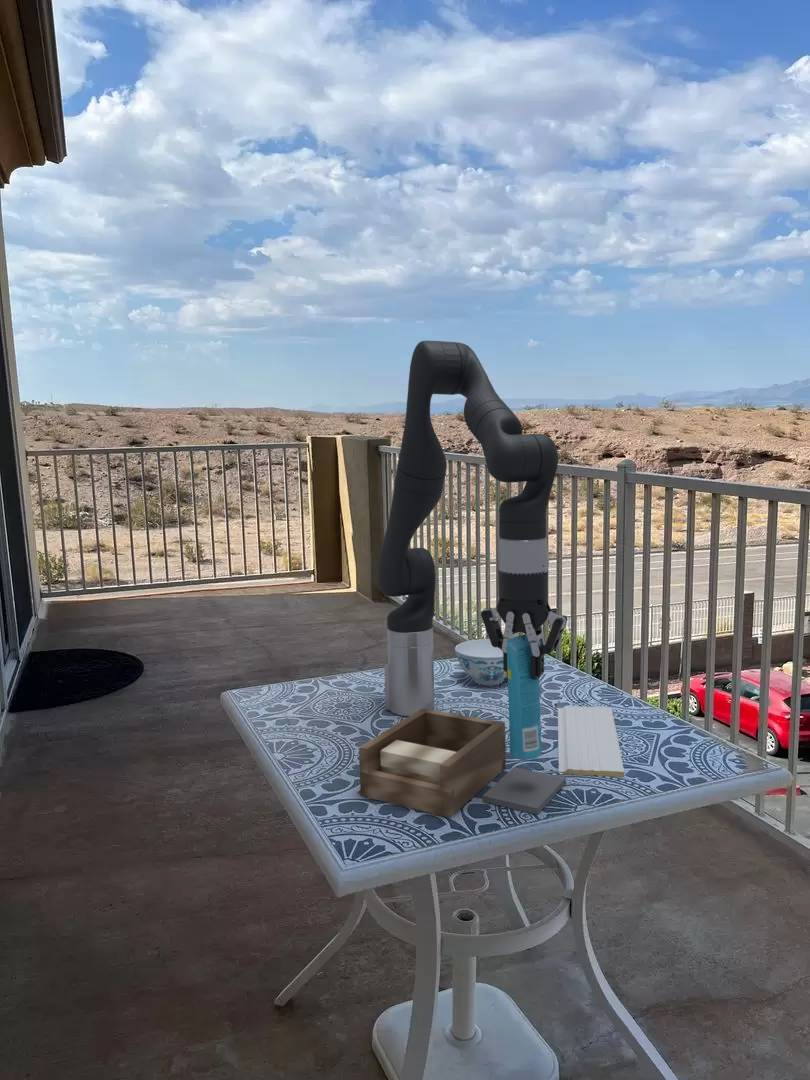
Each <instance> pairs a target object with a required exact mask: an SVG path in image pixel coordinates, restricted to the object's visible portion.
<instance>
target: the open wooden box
mask: <svg viewBox="0 0 810 1080" xmlns="http://www.w3.org/2000/svg"><path fill="white" fill-rule="evenodd" d="M396 740H399V741H404V742H409V743H414V744H419V745H425V746H430V747H435V748H440V749H445V750H450V751H455V752H456V753H455V754H453V755H452V756H451V757H449V758H448V759H447V760H446V761H444V762H443V763H442V764H440V785H436V784H432V783H428V782H423V781H419V780H415V779H410V778H406V777H402V776H397V775H393V774H388V773H384V772H382V768H381V756H380V751H381V750H382V749H384V748H385V747H387V746H388V745H390V744H391V743H393V742H394V741H396ZM358 761H359V766H358V767H359V784H360V785H359V789H360V790H359V791H360V796H361V797H365V798H369V799H373V800H376V801H381V802H384V803H389V804H393V805H396V806H401V807H403V808H407V809H408V808H409V809H412V810H415V811H416V810H417V811H420V812H424V813H428V814H431V815H436V816H440V817H444V818H449V819H450V818H452V817H453V816H454V815H455V814H456V813H458V811H460V810H461V809H462V808H464V806H465V805H466V804H468V802H469V800H470V799H471V800H472V799H473V798H474V797H475V796H477V794H479V793H480V792H481V791H482V790H483V789H485V788H486V786H488V785H489V784H490V783H491V782H492V781H493V780H494V779H496V778H497V777H498V776H499V775H500V774H502V773H503V771H505V768H506V767H507V766H506V765H507V763H506V722H501V721H497V720H491V719H490V720H489V719H484V718H481V717H474V716H473V717H472V716H467V715H463V714H456V713H451V712H445V711H439V710H436V709H434V710H429V709H423V708H422V709H420V710H419V711H417V712H416V713H414V714H412V715H411V716H406V717H405V718H403V720H401V721H399V722H398V723H395V724H394V725H392V726H391V727H390V728H388V729H387V730H385V731H383V732H382V733H379V734H378V735H377V736H375V737H373V738H371V739H370V740H368V741H367V742H366V743H364V744H362V745H360V746H359V747H358ZM498 774H499V775H498ZM497 775H498V776H497ZM496 776H497V777H496ZM487 784H488V785H487ZM482 788H483V789H482ZM480 790H481V791H480ZM479 791H480V792H479ZM478 792H479V793H478ZM473 796H474V797H473ZM471 800H470V801H471ZM460 808H461V809H460Z"/></svg>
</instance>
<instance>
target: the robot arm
mask: <svg viewBox="0 0 810 1080" xmlns="http://www.w3.org/2000/svg"><path fill="white" fill-rule="evenodd" d="M407 386H408V387H407V395H406V396H407V397H406V407H405V419H404V427H403V433H402V439H401V445H400V451H399V455H398V459H397V460H398V461H397V464H396V465H397V466H396V471H395V476H394V485H393V494H392V500H391V505H390V512H389V517H388V521H387V526H386V530H385V532H384V533H385V534H384V537H383V541H382V544H381V549H380V552H379V555H378V556H379V557H378V562H377V566H376V581H377V585H378V589H379V590H380V592H381V593H382V595H384V596H387V597H391V598H392V597H393V598H394V597H395V598H396V597H402V596H407V598H406V600H405V601H404V602H403V603H402V604H401V605H400V606H399V607H396V608H395V609H393V610H391V611H390V612H389V613H388V615H387V617H386V628H387V631H386V633H387V655H388V656H387V658H388V662H387V663H385V664H384V694H385V695H384V698H385V701H384V702H385V710H387V711H389V712H391V713H393V714H395V715H399V716H401V717H402V716H405V717H409V716H411V715H412V714H414V713H416V712H417V711H419V710H420V709H422V708H423V709H429V710H436V709H435V701H436V700H435V698H436V697H435V672H434V671H435V669H434V629H433V627H434V623H433V622H434V621H433V620H434V616H435V611H436V582H437V581H436V579H437V578H436V575H437V574H436V564H435V561H434V560H435V559H434V557H433V555H432V553H431V552H430V550H428V549H426V548H423V547H413V548H412V547H411V548H410V545H411V544H410V543H411V542H412V541H411V540H412V539H413V538H414V535H415V534H416V532H417V530H418V529H419V528H420V526H421V525H423V523H424V522H425V520H426V519H427V518H428V517H429V515H430V514H432V512H433V511H434V509H435V507H436V506H437V505H438V503H439V501H440V500H441V496H442V493H443V490H444V489H443V488H444V485H445V479H446V473H447V468H448V465H447V464H448V462H447V458H446V455H445V452H444V449H443V447H442V444H441V443H440V440H439V439H438V438H439V437H438V436H437V434H436V432H435V428H434V427H433V422H432V419H431V418H432V417H431V401H432V398H433V395H447V396H448V395H449V396H451V395H452V396H453V395H461V396H463V397H464V398H466V400H465V402H464V406H463V418H464V421H465V425H466V427H467V428H468V430H469V431H470V432H471V434H472V435H473V437H475V439H476V440H477V441H478V443H479V444H480V446H481V449H482V452H483V455H484V458H485V459H484V460H485V463H486V469H487V471H488V473H489V475H490V476H492V478H494V479H495V480H497V481H499V482H501V483H522V482H523V483H524V482H525V486H524V488H523V489H522V491H521V492H520V493H519V494H518V495H515V496H512V497H509V498H507V499H505V500H504V499H503V501H502V502H501V503H500V505H499V509H498V510H499V511H498V512H499V514H498V515H499V516H498V517H499V518H498V519H499V523H498V525H499V526H498V527H499V528H498V529H499V530H498V532H499V535H498V536H499V540H498V541H499V542H498V550H497V568H498V569H497V573H498V574H497V575H498V577H497V578H498V579H497V581H498V587H497V588H498V591H497V592H498V597H499V598H498V602H497V604H496V606H495V607H488V608H487V609H486V608H485V609H484V610H482V611H481V612H480V617H481V618H482V621H483V624H484V628H485V631H486V633H487V636H488V639H490V642H491V644H492V646H493V647H498V648H500V649H501V650H502V651H503V669H504V671H505V672H506V674H507V677H508V672H507V640H508V639H512V638H515V637H518V636H520V633H522V634H524V635H525V634H527V637H528V641H529V642H530V644H531V649H532V654H533V656H531V679H533V680H537V679H539V680H540V678H541V676H543V675H544V673H545V655H550V654H551V653H552V652H553V651H556V650H557V648H558V645H559V642H560V641H561V638H562V635H563V632H564V631H565V628H566V625H567V622H568V617H567V616H566V615H564V614H562V615H559V614H557V613H555V612H553V611H552V609H551V606H550V604H549V566H550V561H549V550H548V542H547V541H548V540H547V509H548V505H549V501H550V497H551V492H552V488H553V485H554V483H555V482H554V481H555V478H556V474H557V472H558V471H557V470H558V466H559V452H558V449H557V446H556V444H555V442H554V440H553V439H552V437H550V436H549V435H547V434H544V433H543V434H542V433H526V434H525V433H523V431H524V429H523V425H522V422H521V421H520V419H519V418H518V416H517V415H516V414H515V413H514V411H512V409H511V408H510V407H509V406H508V405H507V404H506V403H505V401H504V400H502V399H501V398H500V396H499V395H498V393H497V392H496V390H495V389H494V387H493V384H492V383H491V381H490V378H489V377H488V374H487V372H486V371H485V369H484V367H483V365H482V363H481V361H480V360H479V357H478V356H477V354H476V353H475V351H474V350H473V348H472V347H470V346H469V345H467V344H466V343H462V342H459V341H458V342H457V341H443V340H421V341H419V342H418V343H417V344H416V346H415V347H414V350H413V352H412V356H411V359H410V365H409V375H408V383H407ZM499 618H501V620H502V621H503V623H504V625H505V626H504V630H503V631H502V629H501V625H500V623H499ZM547 620H548V625H549V626H548V627H549V628H550V631H549V634H548V636H547V639H546V641H545V640H544V637H545V633H544V628H543V625H544V624H545V622H546V621H547Z"/></svg>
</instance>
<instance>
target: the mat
mask: <svg viewBox="0 0 810 1080" xmlns="http://www.w3.org/2000/svg"><path fill="white" fill-rule="evenodd" d="M566 781H567V778H566V777H565V776H564V777H563V776H559V775H553V774H548V773H545V772H539V771H534V770H530V769H524V768H520V767H516V766H515V767H512V769H510V771H508V772H507V773H506V774H504V776H503V777H501V778H500V779H499V780H498V781H497V782H496V783H495V784H493V785H492V787H490V788H489V789H488V790H487V791H486V792H485V793H484V794H483V795H482V803H485V802H487V803H486V804H489V803H491V805H494V804H495V806H498V805H500V806H499V807H502V806H503V808H506V807H507V809H512V810H516V811H521V812H525V813H528V814H533V815H535V816H537V815H539V813H541V811H543V809H545V807H546V806H547V805H548V804H549V803H550V801H551V800H552V799H554V797H555V796H556V795H558V793H559V792H560V791H561V790H562V788H563V787H564V786H566V785H567V782H566ZM560 789H561V790H560ZM559 790H560V791H559ZM558 791H559V792H558ZM557 792H558V793H557Z"/></svg>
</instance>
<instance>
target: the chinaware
mask: <svg viewBox="0 0 810 1080" xmlns="http://www.w3.org/2000/svg"><path fill="white" fill-rule="evenodd" d="M454 649H455V655H456V658H457V661H458V663H459V665H460V667H461V668H462V669H463V671H465V673H466V674H467V675H468V676H470V677H471V678H473V681H474V683H476V684H477V683H478V685H481V684H482V686H497V685H500V683H501V684H502V682H503V681H505V678H508V676H507V674H506V672H505V671H504V669H503V651H502V650H501V649H500V648H498V647H493V646H492V644H491V642H490V639H489V638H485V639H484V638H481V639H472V640H467V641H463V642H461V643H459V644H456V646H455V648H454ZM503 683H504V682H503Z"/></svg>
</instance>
